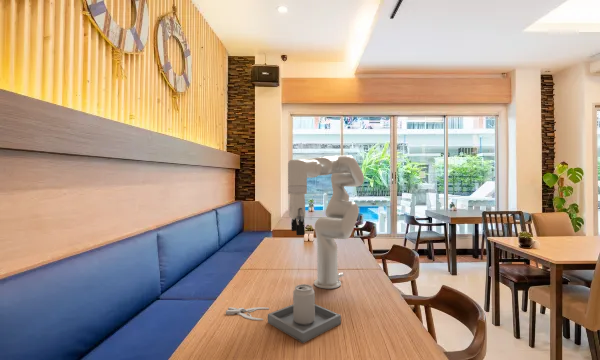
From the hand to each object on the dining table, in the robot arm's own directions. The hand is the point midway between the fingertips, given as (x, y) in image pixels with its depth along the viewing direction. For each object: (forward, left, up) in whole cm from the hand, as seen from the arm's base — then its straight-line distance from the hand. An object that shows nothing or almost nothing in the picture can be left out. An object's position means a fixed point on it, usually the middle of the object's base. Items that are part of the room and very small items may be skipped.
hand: (297, 232), depth 123 cm
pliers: (+20, -6, -29) cm, 36 cm away
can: (+10, +14, -28) cm, 33 cm away
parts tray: (+10, +14, -28) cm, 33 cm away
